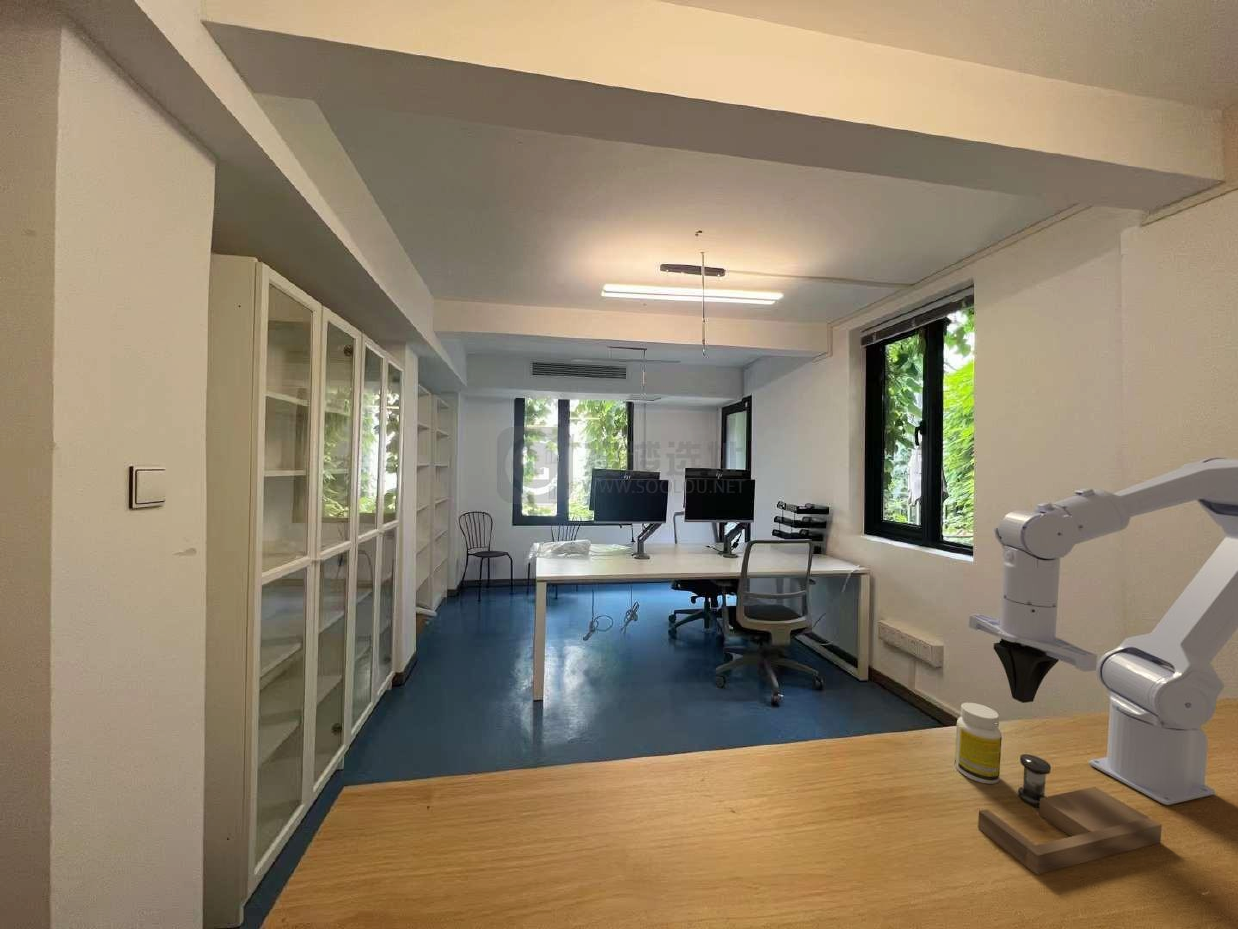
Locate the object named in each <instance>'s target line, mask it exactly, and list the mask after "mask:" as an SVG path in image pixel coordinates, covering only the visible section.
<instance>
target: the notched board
mask: <svg viewBox="0 0 1238 929" xmlns="http://www.w3.org/2000/svg"><path fill="white" fill-rule="evenodd" d="M1038 809H1039V811H1038V815H1039V816H1040V817H1041V818H1043V819H1044V820H1045V821H1047V822H1049V823H1050V824H1052V825H1053V826H1055V827H1056V828H1057V829H1059V830H1061V831H1062V832H1063V833H1065V834H1067V835H1068V836H1069V837H1068V836H1067V837H1064V838H1060V839H1057V840H1052V841H1047V842H1043V843H1040V844H1035V843H1033V841H1031V840H1029V839H1028V838H1027V837H1026V836H1024V835H1023V834H1022V833H1020V832H1019V831H1017V830H1016V829H1015V828H1013V827H1012V825H1009V823H1007V822H1005V821H1004V820H1003V819H1001V818H1000V817H999V816H997V815H995V813H993V812H992V811H990V810H989V809H987V808H986V809H981V810H978V819H977V822H978V823H977V829H978V828H979V829H980V830H979V829H978V830H979V831H981V832H982V833H983V834H985V835H986V836H987V837H988V838H990V839H991V840H992V841H993V842H995V843H996V844H998V846H1000V847H1001V848H1002V849H1003V850H1005V851H1006V852H1007V853H1009V854H1010V855H1011V856H1013V858H1014V859H1016V860H1017V861H1019V862H1020V863H1021V864H1022V865H1023V866H1025V868H1027V869H1029V870H1030V871H1031V872H1032V873H1033V874H1035V875H1036V876H1038V875H1041V874H1046V873H1049V872H1055V871H1057V870H1060V869H1066V868H1069V867H1072V866H1077V865H1080V864H1084V863H1087V862H1090V861H1095V860H1099V859H1103V858H1107V857H1110V856H1114V855H1118V854H1122V853H1125V852H1126V853H1127V852H1129V851H1133V850H1137V849H1141V848H1145V847H1148V846H1152V845H1156V844H1159V843H1161V839H1162V838H1161V837H1162V828H1163V827H1162V824H1161V823H1159V822H1158V821H1156V820H1155V819H1153V818H1151V817H1149V816H1148V815H1146V814H1144V813H1142V812H1140V811H1138V810H1137V809H1135V808H1133V807H1131V806H1129V805H1128V804H1126V803H1124V802H1122V801H1121V800H1119V799H1117V798H1115V797H1114V796H1112V795H1111V794H1108V793H1107V792H1105V791H1103V790H1102V789H1101V788H1100V789H1099V788H1098V787H1096V786H1093V787H1092V786H1091V787H1087V788H1084V789H1083V788H1082V789H1078V790H1073V791H1072V790H1071V791H1068V792H1062V793H1059V794H1054V795H1049V796H1046V797H1043V798H1040V806H1039V808H1038Z"/></svg>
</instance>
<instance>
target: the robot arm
mask: <svg viewBox="0 0 1238 929" xmlns="http://www.w3.org/2000/svg"><path fill="white" fill-rule="evenodd" d="M1074 495H1075V496H1071V497H1067V498H1065V499H1061V500H1058V501H1055V502H1052V503H1051V502H1041V503H1038V504H1037V508H1035V509H1034V511H1031V510H1024V509H1017V510H1014V511H1011V512H1008V513H1007V514H1006V515H1004V518H1002V519H1001V521H1000V522H999V524H998V526H997V527H995V528H994V535H995V537H996V540H997V541H998V542H999V544H1000V545H1001V547H1002V557H1003V566H1002V581H1001V600H1000V614H999V615H1000V616H999V619H998V618H993V617H990V616H988V615H983V614H981V613H977V614H969V618H968V621H969V622H968V628H970V629H973V630H975V631H977V630H980V631H982V632H984V633H987V634H990V635H992V636H996V637H998V639H999V638H1000V640H999V642H994V643H993V650H994V652H995V653H996V655H997V656H998V658H999V660H1000V662H1001V664H1002V666H1003V669H1004V672H1005V674H1006V678H1007V681H1008V686H1009V689H1010V690H1009V691H1010V692H1011V698H1012V699H1013V700H1016V701H1018V702H1020V703H1023V704H1024V703H1025V704H1026V703H1031V702H1034V701H1035V698H1036V694H1037V692H1038V689H1039V688H1040V686H1041V684H1042V682H1043V680H1044V678H1045V677H1046V675H1047V674H1048V673H1049V672H1050V671H1051V670H1052V668H1053V667H1054V666H1055V665H1056V664H1057V663H1058V662H1060V661H1062V662H1064V663H1066V664H1069V665H1072V666H1074V667H1075V668H1076V669H1077V670H1079V671H1082V672H1085V673H1086V672H1093V671H1096V675H1097V678H1098V681H1099V682H1100V684H1102V686H1103V687H1104V688H1106V689H1107V691H1106V692H1107V693H1106V697H1107V698H1108V699H1109V700H1110V703H1109V720H1108V733H1107V748H1106V749H1107V750H1106V751H1107V752H1106V756H1104V757H1100V758H1094V759H1090V760H1088V764H1089V765H1090V766H1092V767H1094V768H1096V769H1097V770H1099V771H1101V772H1103V773H1104V774H1106V775H1109V776H1110V777H1112V778H1114V779H1116V780H1118V781H1120V782H1121V783H1123V784H1125V785H1128V786H1129V787H1131V788H1133V789H1135V790H1137V791H1138V792H1141V793H1142V794H1144V795H1145V796H1148V797H1150V798H1151V799H1153V800H1155V801H1157V802H1158V803H1160V804H1163V805H1166V806H1170V805H1174V804H1178V803H1182V802H1187V801H1191V800H1196V799H1200V798H1203V797H1208V796H1212V795H1216V790H1215V789H1214V788H1212V787H1210V786H1208V785H1206V774H1207V773H1206V772H1207V761H1208V760H1207V759H1208V749H1209V748H1208V746H1209V745H1208V744H1209V743H1208V738H1207V735H1206V734H1205V731H1204V729H1203V728H1202V727H1203V726H1205V725H1206V724H1207V723H1208V722H1210V721H1211V719H1212V718H1213V717H1214V715H1215V712H1216V708H1217V707H1216V706H1217V700H1218V697H1219V696H1220V694H1221V693H1222V692H1223V690H1224V689H1225V687H1226V686H1225V683H1224V681H1223V680H1222V678H1221V677H1220V676H1219V674H1218V673H1217V671H1216V670H1215V668H1214V667H1213V664H1212V663H1211V662H1212V661H1213V660H1214V659H1215V657H1216V656H1217V655H1218V654H1219V653H1220V651H1221V650H1222V649H1223V648H1224V646H1225V645H1226V644H1227V643H1228V641H1229V640H1230V639H1231V637H1232V636H1233V635H1234V634H1235V632H1236V631H1237V630H1238V458H1225V457H1214V456H1213V457H1208V458H1204V459H1201V460H1199V461H1197V462H1196V461H1194V462H1189V463H1185V464H1183V465H1182V466H1181V467H1179V468H1178V469H1175V470H1172V471H1169V472H1166V473H1164V474H1161V475H1158V476H1156V477H1153V478H1150V479H1148V480H1145V481H1142V482H1140V483H1138V484H1134V485H1132V486H1129V487H1127V488H1124V489H1122V490H1119V491H1116V492H1114V493H1112V492H1109V491H1106V490H1103V489H1099V488H1098V489H1092V488H1084V487H1083V488H1080V489H1077V490H1074ZM1193 501H1196V502H1197V503H1198V504H1199V505H1200V507H1201V508H1202V509H1203V510H1204V511H1205V513H1207V515H1208V516H1210V518H1211V519H1212V520H1213V521H1214V522H1215V523H1216V525H1218V526H1220V527H1221V528H1222V531H1223V533H1224V534H1225V537H1224V538H1223V539H1222V541H1221V542H1220V543H1219V545H1218V546H1217V547H1216V549H1215V550H1214V551H1213V552H1212V553H1211V555H1210V556H1209V558H1208V559H1207V560H1206V562H1204V564H1203V566H1202V567H1201V568H1200V569H1199V570H1198V572H1197V573H1196V574H1195V576H1194V577H1193V578H1192V579H1191V581H1190V582H1189V583H1188V585H1187V586H1186V587H1185V588H1184V590H1183V591H1182V592H1181V594H1180V595H1179V597H1178V598H1177V599H1176V600H1175V602H1173V604H1172V605H1171V607H1170V608H1169V609H1168V610H1167V612H1166V613H1165V614H1164V616H1163V617H1162V618H1161V620H1160V621H1159V622H1158V623H1157V625H1156V626H1155V627H1154V628H1153V629H1152V631H1151V632H1149V633H1146V634H1141V635H1134V636H1130V637H1127V638H1124V640H1123V641H1122V642H1121V644H1120V645H1118V646H1117V647H1116V648H1114V649H1113V650H1110V651H1107V652H1106V653H1104V654H1103V655H1102V656H1101V657H1100V658H1099V660H1098V654H1096V653H1093V652H1090V651H1087V650H1086V649H1083V648H1080V647H1078V646H1077V645H1074V644H1072V643H1070V642H1068V641H1067V640H1064V639H1062V638H1060V637H1057V636H1056V635H1057V634H1056V633H1057V618H1058V617H1057V616H1058V599H1059V598H1058V597H1059V584H1060V582H1059V581H1060V570H1061V569H1060V567H1061V559H1062V558H1064V557H1066V556H1068V555H1069V554H1070V553H1071V551H1072V549H1073V548H1074V547H1075V545H1078V544H1081V543H1085V542H1088V541H1091V540H1095V539H1097V538H1100V537H1104V536H1107V535H1110V534H1114V533H1116V532H1121V531H1124V530H1125V529H1127V527H1128V526H1129V524H1130V521H1131V518H1132V517H1136V516H1140V515H1143V514H1147V513H1151V512H1155V511H1159V510H1163V509H1167V508H1170V507H1175V506H1179V505H1182V504H1186V503H1191V502H1193ZM1169 668H1171V669H1174V670H1171V669H1169Z"/></svg>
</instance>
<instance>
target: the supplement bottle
mask: <svg viewBox="0 0 1238 929" xmlns="http://www.w3.org/2000/svg"><path fill="white" fill-rule="evenodd" d="M995 723H997V724H995ZM959 726H966V727H959ZM999 726H1000V716H999V713H998V712H997V711H996V710H994V709H992V708H990V707H989V706H986V705H983V704H980V703H975V702H963V703H962V704H961V706H960V716H959V717H958V718H957V721H956V732H955V750H954V755H955V756H954V766H955V768H956V769H957V770H958V771H959V772H960V773H961V774H962V775H963V774H964V775H963V776H965V777H966V776H967V778H968V779H971V780H972V781H975V782H978V783H981V784H994V785H995V784H997V783H998V782H999V780H1000V775H1001V774H1000V770H1001V758H1002V757H1001V755H1002V754H1001V752H1002V739H1003V738H1002V737H1003V736H1002V735H1003V734H1002V732H1001V730H1000V729H999Z"/></svg>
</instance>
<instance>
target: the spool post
mask: <svg viewBox="0 0 1238 929" xmlns="http://www.w3.org/2000/svg"><path fill="white" fill-rule="evenodd" d="M1019 757H1020V759H1019V763H1020V764H1021V765H1022V766H1023V776H1022V778H1023V780H1022V786H1020V787H1019V788H1018V792H1017V795H1018V798H1019V799H1020V800H1021V801H1022V802H1024V803H1025V804H1027V805H1029V804H1030V805H1029V806H1031V807H1035V808H1037V809H1039V806H1040V798H1043V797H1047V796H1046V795H1045V792H1046V777H1047V775H1049V774H1050V773H1051V771H1052V770H1051V768H1052V766H1051V764H1050V763H1049V762H1048V761H1046V760H1045V759H1043V758H1041V757H1039V756H1036V755H1032V754H1030V753H1029V754H1028V753H1024V754H1021V755H1020V756H1019Z"/></svg>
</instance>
